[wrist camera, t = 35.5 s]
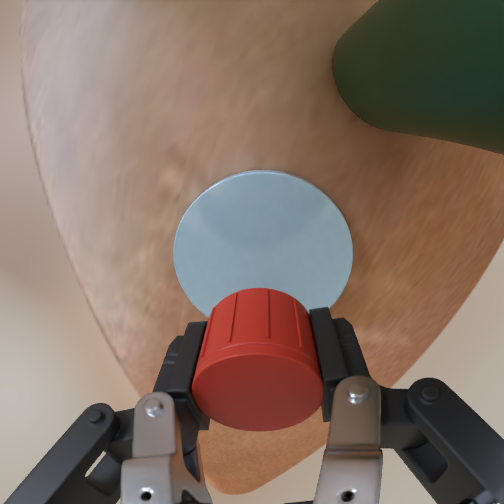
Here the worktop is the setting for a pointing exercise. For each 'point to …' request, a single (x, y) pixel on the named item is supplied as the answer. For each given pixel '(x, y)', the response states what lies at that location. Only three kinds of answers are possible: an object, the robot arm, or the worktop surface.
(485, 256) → the worktop surface
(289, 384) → the cap
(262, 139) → the worktop surface
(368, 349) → the worktop surface
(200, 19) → the worktop surface
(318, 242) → the saucer
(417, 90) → the sauce bottle
